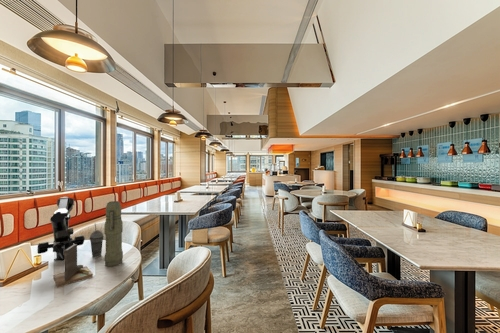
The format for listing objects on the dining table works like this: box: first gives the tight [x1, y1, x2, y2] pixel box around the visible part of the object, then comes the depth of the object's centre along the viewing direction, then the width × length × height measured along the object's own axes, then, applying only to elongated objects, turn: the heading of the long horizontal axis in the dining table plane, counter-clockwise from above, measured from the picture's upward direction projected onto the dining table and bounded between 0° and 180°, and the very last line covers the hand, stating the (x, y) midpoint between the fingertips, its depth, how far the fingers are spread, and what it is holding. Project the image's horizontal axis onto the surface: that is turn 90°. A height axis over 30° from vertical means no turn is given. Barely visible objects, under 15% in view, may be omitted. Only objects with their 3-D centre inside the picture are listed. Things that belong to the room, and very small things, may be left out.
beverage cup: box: [89, 223, 105, 258], centre depth 140 cm, size 7×7×20 cm
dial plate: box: [53, 266, 94, 288], centre depth 112 cm, size 13×14×2 cm
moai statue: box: [103, 200, 124, 268], centre depth 129 cm, size 9×12×35 cm
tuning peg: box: [63, 244, 91, 281], centre depth 112 cm, size 9×13×14 cm
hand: (64, 258), depth 115 cm, fingers closed
